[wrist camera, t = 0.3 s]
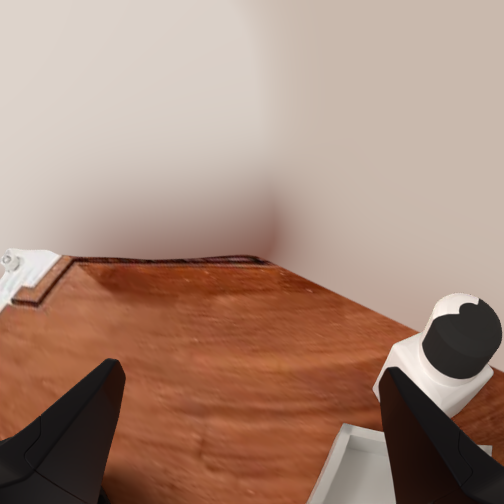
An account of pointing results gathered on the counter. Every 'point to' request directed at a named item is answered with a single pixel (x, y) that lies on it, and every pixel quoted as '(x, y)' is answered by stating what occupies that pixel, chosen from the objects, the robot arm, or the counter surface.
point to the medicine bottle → (450, 352)
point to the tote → (358, 469)
